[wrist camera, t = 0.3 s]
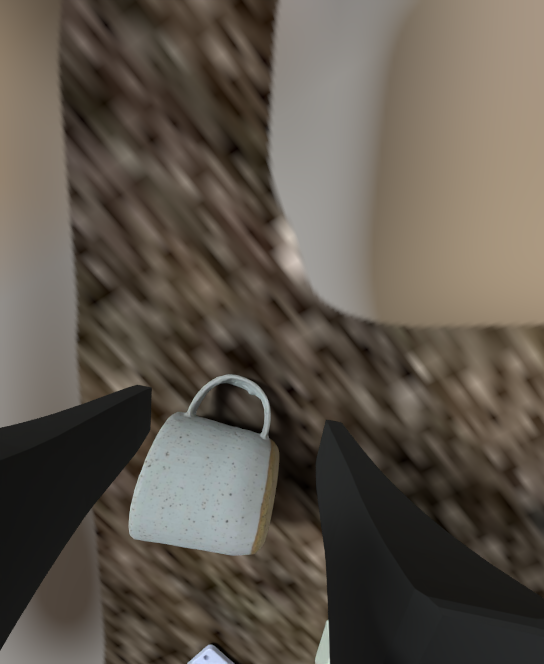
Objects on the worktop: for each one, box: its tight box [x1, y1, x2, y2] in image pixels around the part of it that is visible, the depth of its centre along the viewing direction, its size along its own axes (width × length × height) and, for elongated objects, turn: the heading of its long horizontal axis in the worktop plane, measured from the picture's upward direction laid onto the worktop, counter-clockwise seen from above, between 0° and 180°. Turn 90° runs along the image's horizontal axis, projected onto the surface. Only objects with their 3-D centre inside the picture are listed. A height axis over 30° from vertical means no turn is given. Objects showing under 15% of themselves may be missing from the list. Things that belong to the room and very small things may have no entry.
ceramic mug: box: [129, 374, 279, 555], centre depth 19 cm, size 11×8×8 cm
